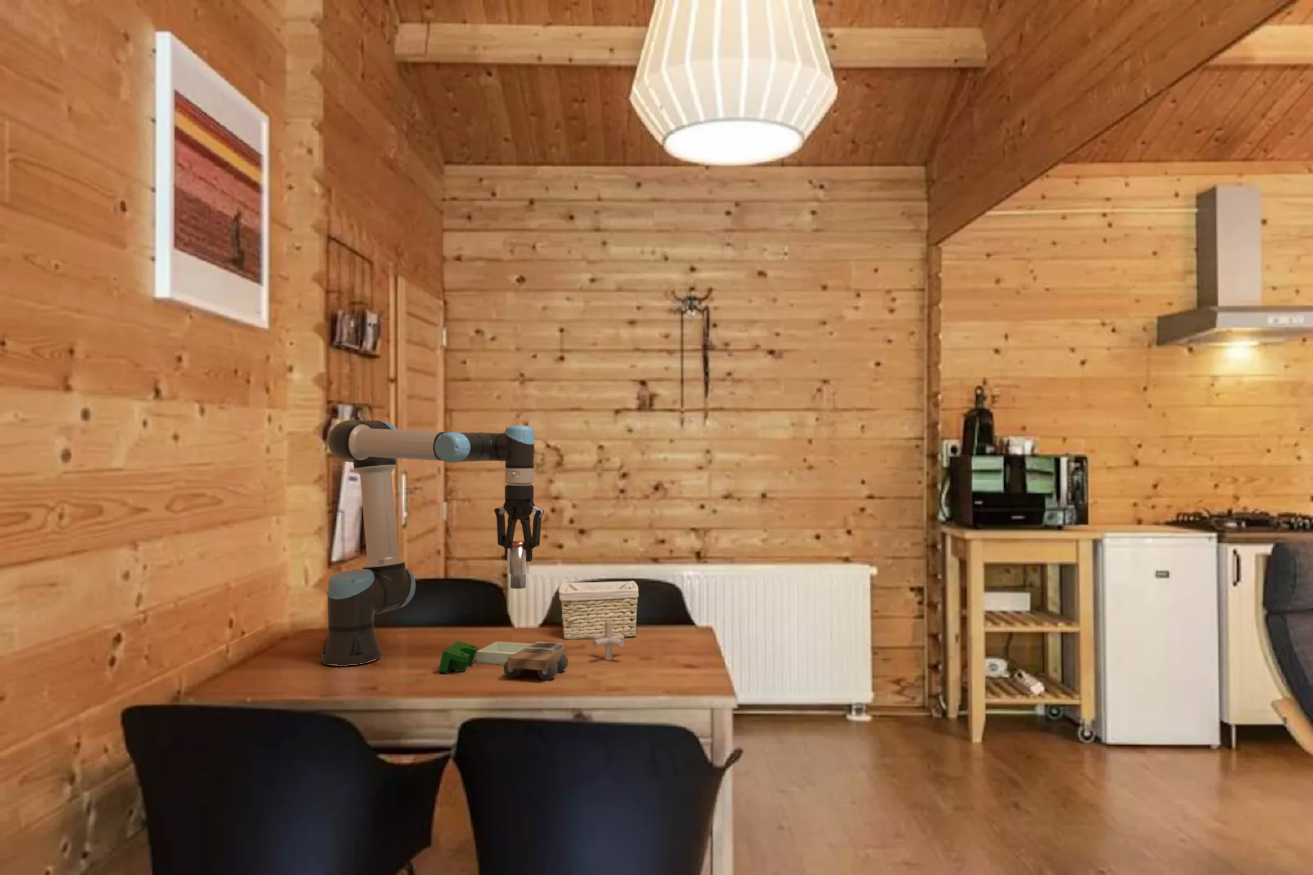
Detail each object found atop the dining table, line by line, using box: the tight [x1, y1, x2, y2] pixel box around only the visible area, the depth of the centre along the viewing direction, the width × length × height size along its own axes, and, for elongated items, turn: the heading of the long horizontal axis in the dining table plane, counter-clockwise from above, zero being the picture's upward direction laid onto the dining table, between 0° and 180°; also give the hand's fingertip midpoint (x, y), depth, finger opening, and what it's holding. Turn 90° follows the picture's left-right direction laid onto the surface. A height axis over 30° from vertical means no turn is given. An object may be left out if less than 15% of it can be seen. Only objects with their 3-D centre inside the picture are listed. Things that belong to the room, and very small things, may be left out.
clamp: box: [438, 640, 479, 674], centre depth 221 cm, size 12×6×9 cm, turn 169°
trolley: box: [503, 641, 569, 681], centre depth 215 cm, size 13×14×6 cm
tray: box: [475, 641, 533, 666], centre depth 231 cm, size 12×12×3 cm
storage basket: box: [558, 580, 640, 640], centre depth 261 cm, size 24×16×15 cm
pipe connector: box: [592, 621, 625, 661], centre depth 229 cm, size 10×10×10 cm
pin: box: [509, 540, 527, 590], centre depth 226 cm, size 4×4×12 cm
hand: (518, 573), depth 226 cm, fingers closed on pin, 3 cm apart
